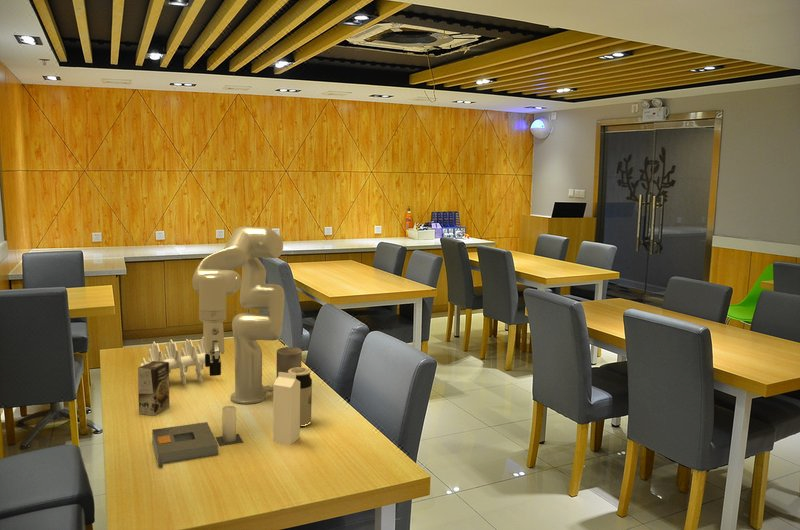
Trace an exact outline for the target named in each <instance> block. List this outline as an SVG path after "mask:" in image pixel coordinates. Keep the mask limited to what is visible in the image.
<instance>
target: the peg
mask: <svg viewBox="0 0 800 530" xmlns="http://www.w3.org/2000/svg"><path fill="white" fill-rule="evenodd" d="M221 413H222V414H221V416H222V417H221V418H222V419H221V420H222V430H221V431H222V435H221V436H223V442H226V443H230V442H234V441H236V434H237V406H234V405H225V406H223V407H222V411H221Z"/></svg>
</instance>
